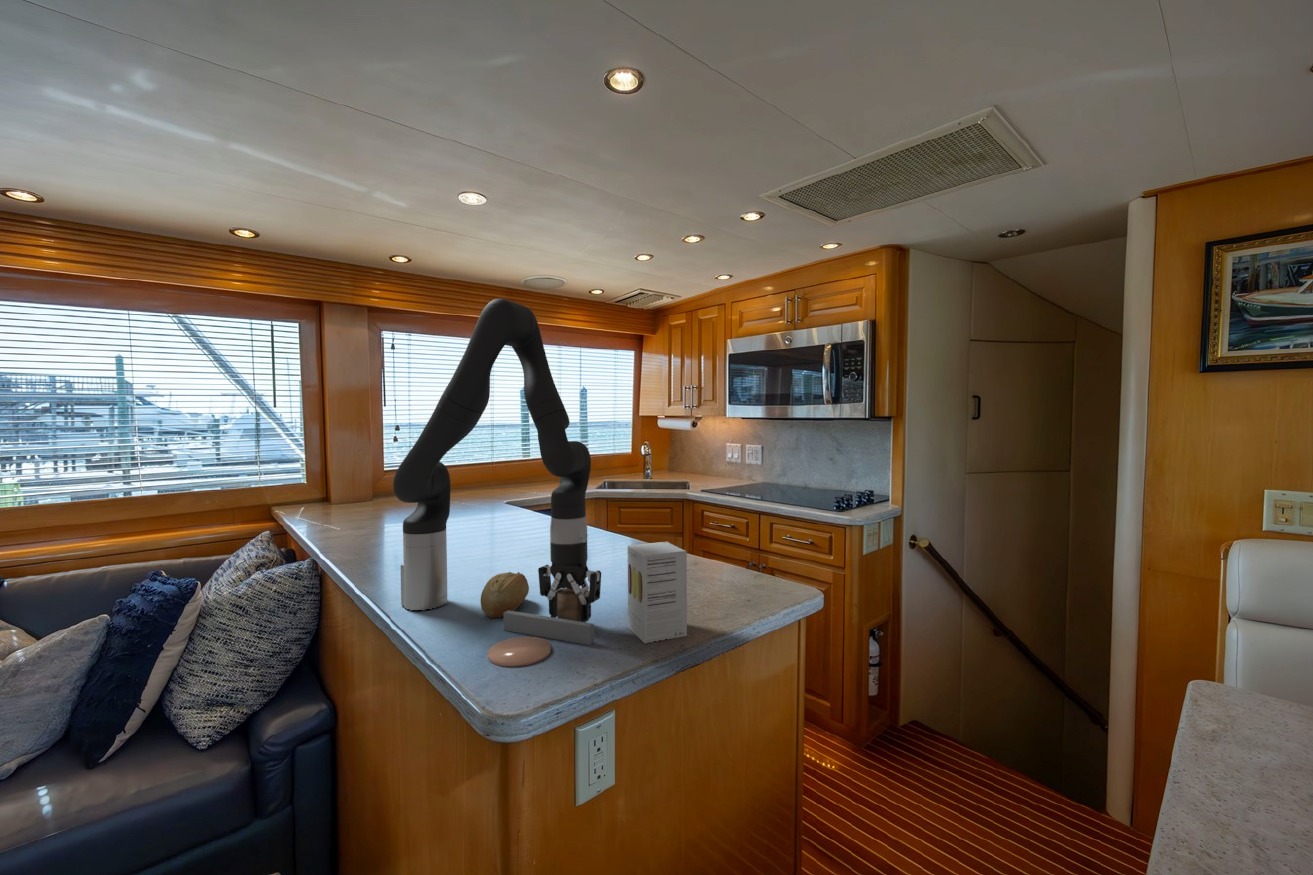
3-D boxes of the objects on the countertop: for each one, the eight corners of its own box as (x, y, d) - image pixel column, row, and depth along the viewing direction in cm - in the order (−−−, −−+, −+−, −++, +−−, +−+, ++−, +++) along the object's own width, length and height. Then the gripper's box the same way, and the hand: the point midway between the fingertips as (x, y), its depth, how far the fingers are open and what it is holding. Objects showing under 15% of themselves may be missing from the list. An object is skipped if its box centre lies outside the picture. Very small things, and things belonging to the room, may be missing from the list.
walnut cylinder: (552, 627, 108) (552, 593, 108) (566, 619, 113) (565, 586, 113) (573, 631, 106) (573, 596, 106) (586, 622, 111) (586, 589, 111)
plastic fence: (503, 629, 107) (503, 612, 107) (508, 627, 109) (508, 610, 109) (589, 645, 99) (589, 626, 99) (593, 642, 101) (593, 623, 101)
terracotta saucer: (474, 660, 93) (474, 655, 93) (514, 637, 103) (514, 633, 103) (526, 671, 89) (526, 666, 89) (562, 646, 99) (562, 641, 99)
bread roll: (536, 598, 128) (535, 565, 127) (517, 620, 113) (517, 583, 113) (496, 598, 128) (496, 565, 128) (472, 620, 113) (472, 583, 113)
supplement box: (626, 627, 108) (625, 544, 108) (668, 620, 112) (667, 540, 112) (644, 644, 99) (643, 554, 99) (688, 636, 103) (687, 549, 103)
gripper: (528, 539, 109) (530, 620, 109) (589, 545, 103) (591, 630, 103) (550, 532, 115) (551, 609, 116) (608, 537, 110) (609, 617, 110)
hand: (570, 618), depth 109 cm, fingers open, 6 cm apart
